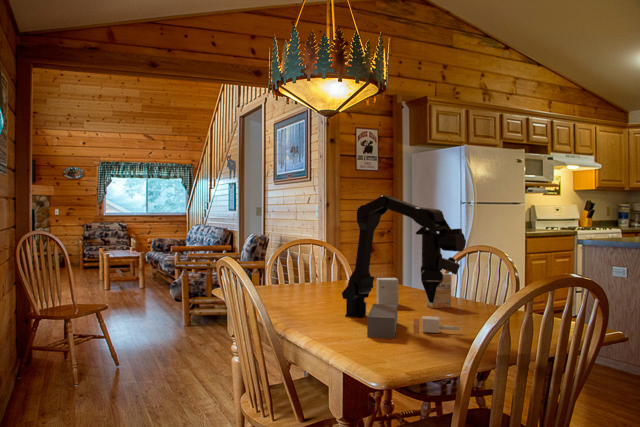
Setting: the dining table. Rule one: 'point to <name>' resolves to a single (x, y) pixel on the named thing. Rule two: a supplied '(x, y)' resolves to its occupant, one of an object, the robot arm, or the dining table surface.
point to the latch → (416, 326)
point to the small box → (387, 291)
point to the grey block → (382, 321)
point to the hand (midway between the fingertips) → (430, 299)
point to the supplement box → (442, 294)
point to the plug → (434, 325)
